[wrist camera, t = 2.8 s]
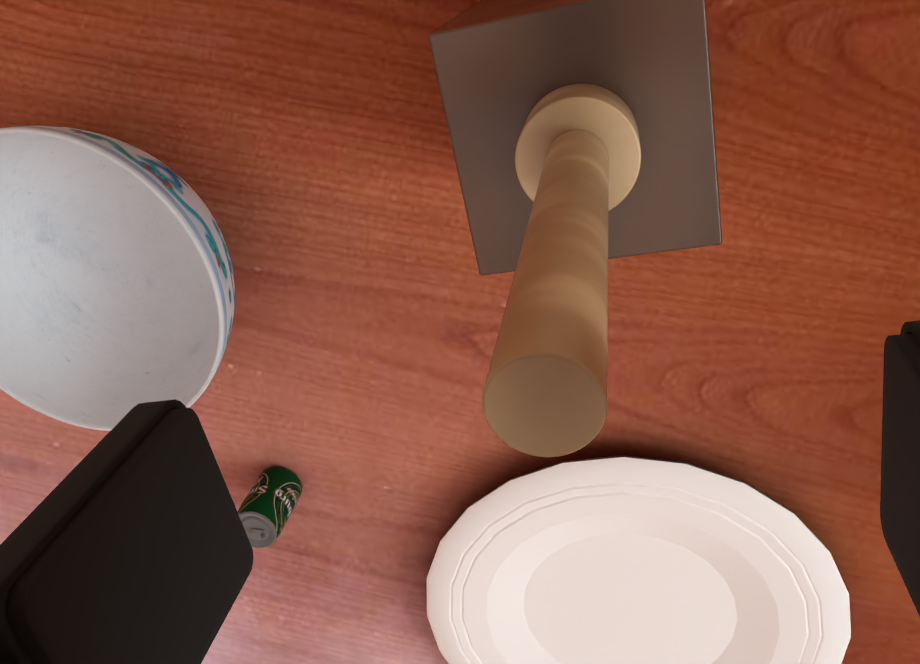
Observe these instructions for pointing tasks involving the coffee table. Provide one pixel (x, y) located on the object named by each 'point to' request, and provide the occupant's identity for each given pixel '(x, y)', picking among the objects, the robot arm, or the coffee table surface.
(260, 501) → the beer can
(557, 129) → the stick
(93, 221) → the chinaware
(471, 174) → the stand
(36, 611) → the robot arm
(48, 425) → the coffee table surface
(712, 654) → the plate
